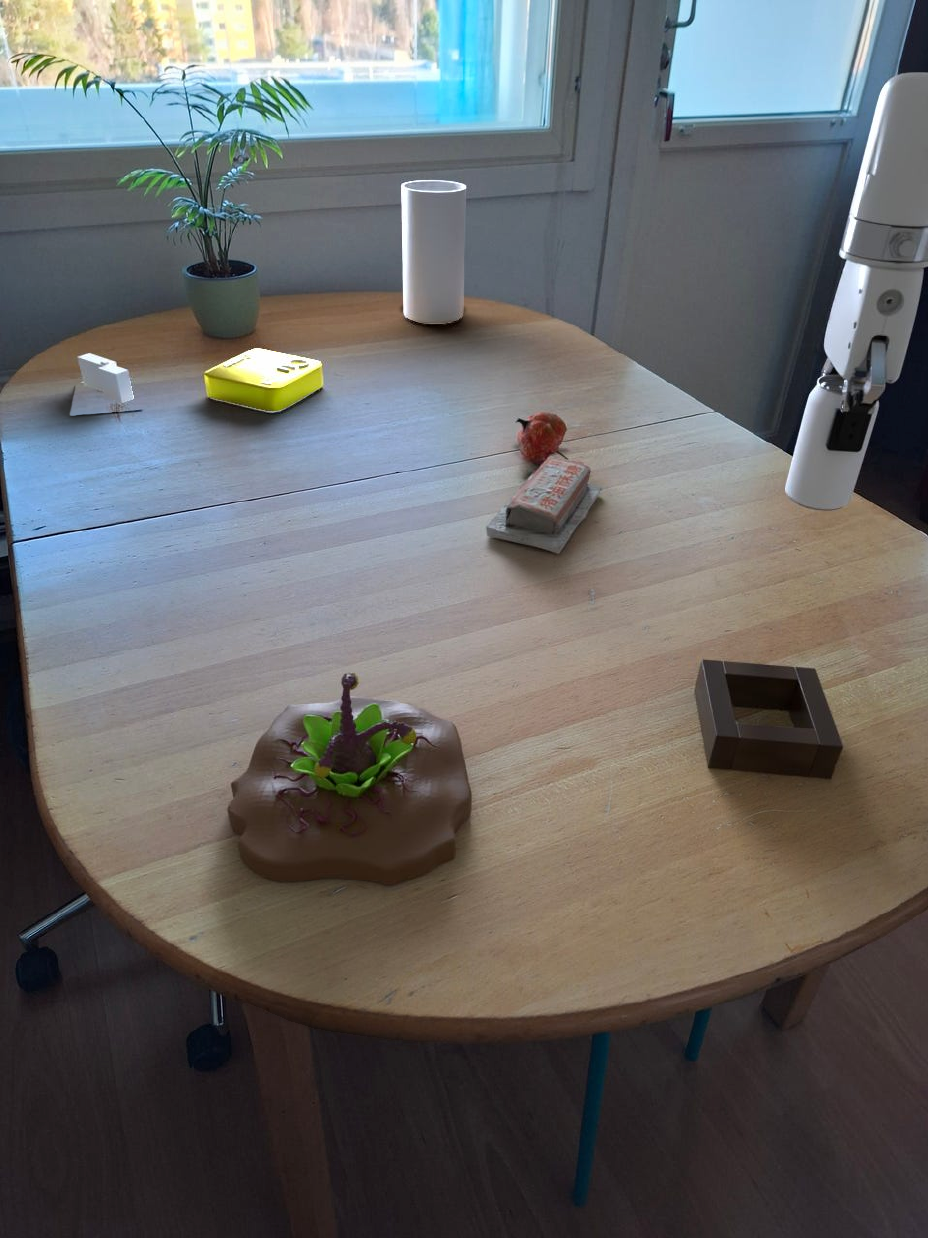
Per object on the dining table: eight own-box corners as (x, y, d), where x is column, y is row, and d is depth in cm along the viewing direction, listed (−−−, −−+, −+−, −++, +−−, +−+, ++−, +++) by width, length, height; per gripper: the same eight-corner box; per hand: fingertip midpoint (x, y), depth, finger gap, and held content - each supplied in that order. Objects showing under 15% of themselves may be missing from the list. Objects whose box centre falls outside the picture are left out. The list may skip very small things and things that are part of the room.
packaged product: (536, 448, 120) (605, 462, 117) (533, 480, 123) (601, 494, 120) (486, 503, 107) (563, 521, 104) (484, 538, 110) (559, 556, 107)
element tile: (257, 370, 155) (254, 343, 153) (328, 386, 150) (326, 358, 147) (201, 398, 144) (197, 370, 142) (276, 416, 139) (273, 387, 136)
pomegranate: (555, 461, 133) (505, 420, 130) (588, 431, 129) (537, 388, 126) (549, 488, 128) (497, 446, 125) (583, 457, 123) (530, 413, 120)
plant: (474, 719, 82) (479, 623, 76) (467, 892, 67) (472, 790, 60) (264, 709, 83) (250, 613, 76) (207, 879, 67) (183, 776, 60)
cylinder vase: (433, 330, 176) (434, 194, 162) (391, 316, 183) (388, 184, 169) (475, 317, 184) (479, 186, 169) (433, 304, 191) (433, 177, 176)
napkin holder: (73, 383, 148) (65, 349, 145) (143, 377, 151) (137, 344, 148) (68, 417, 137) (59, 381, 134) (144, 410, 140) (137, 375, 136)
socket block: (805, 699, 86) (815, 668, 84) (831, 779, 77) (843, 746, 75) (693, 690, 87) (701, 658, 84) (707, 768, 78) (716, 735, 76)
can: (773, 484, 92) (800, 373, 85) (830, 481, 93) (861, 371, 86) (801, 514, 87) (833, 398, 80) (861, 510, 88) (898, 395, 81)
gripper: (968, 268, 68) (898, 476, 79) (905, 222, 82) (852, 404, 93) (869, 263, 69) (812, 470, 79) (823, 218, 83) (780, 399, 93)
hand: (834, 433), depth 86 cm, fingers closed on can, 6 cm apart
